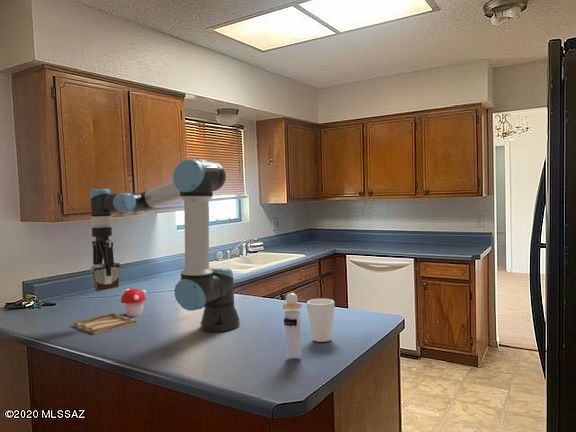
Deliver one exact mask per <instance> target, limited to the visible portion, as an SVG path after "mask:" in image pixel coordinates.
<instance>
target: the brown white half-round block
mask: <svg viewBox="0 0 576 432" xmlns="http://www.w3.org/2000/svg"><path fill="white" fill-rule="evenodd" d="M103 267H105V265H104V263H102V264H97V265H94V264H93V265H91V268H90V272H91V273H92V275H93V276H92V277H93V282H94V288H95V289H94V290H95V292H101V291H107V290H113V289H118V288H120V275H121V273H120V271H121V269H122V266H121V263H120V262H114V266H112V268H111V278H112V284H106V285H105V284H104V268H103Z"/></svg>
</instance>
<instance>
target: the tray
mask: <svg viewBox="0 0 576 432" xmlns="http://www.w3.org/2000/svg"><path fill="white" fill-rule="evenodd" d="M72 323H73V327H75V328H77V329H80V330H82V331H85V332H88V333H90V334H93V335H99V334H103V333H106V332H110V331H115V330H119V329H122V328H126V327H131V326H135V325H137V320H136V319H134V318H131V317H129V316H124V315H121V314H117V313H114V312H112V313H111V312H110V313H107V314H103V315H98V316H94V317H90V318H84V319H81V320H75V321H72Z"/></svg>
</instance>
